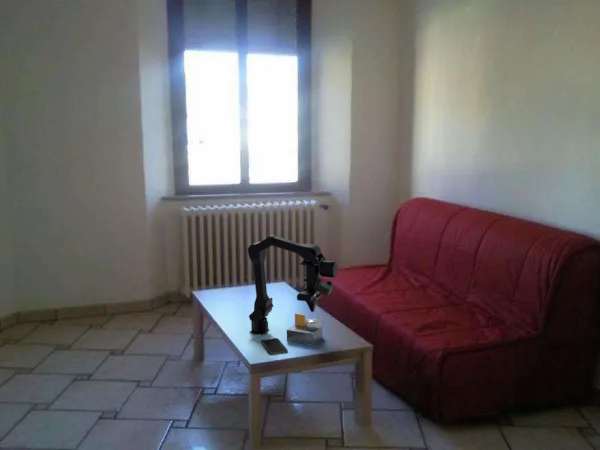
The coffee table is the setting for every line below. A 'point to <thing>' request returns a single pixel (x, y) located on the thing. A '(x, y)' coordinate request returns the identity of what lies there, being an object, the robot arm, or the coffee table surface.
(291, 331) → the hitch block
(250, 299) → the coffee table surface
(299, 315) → the grey orange block
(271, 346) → the phone
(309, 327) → the grey rounded piece
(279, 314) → the coffee table surface
